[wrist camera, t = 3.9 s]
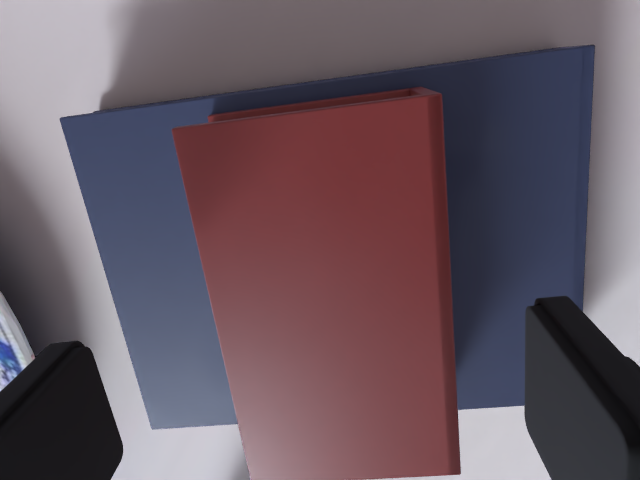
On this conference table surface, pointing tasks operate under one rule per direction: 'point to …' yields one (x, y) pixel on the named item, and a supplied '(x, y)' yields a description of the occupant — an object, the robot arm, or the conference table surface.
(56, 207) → the conference table surface
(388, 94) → the paperback
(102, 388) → the robot arm
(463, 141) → the hardback
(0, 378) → the ceramic plate
